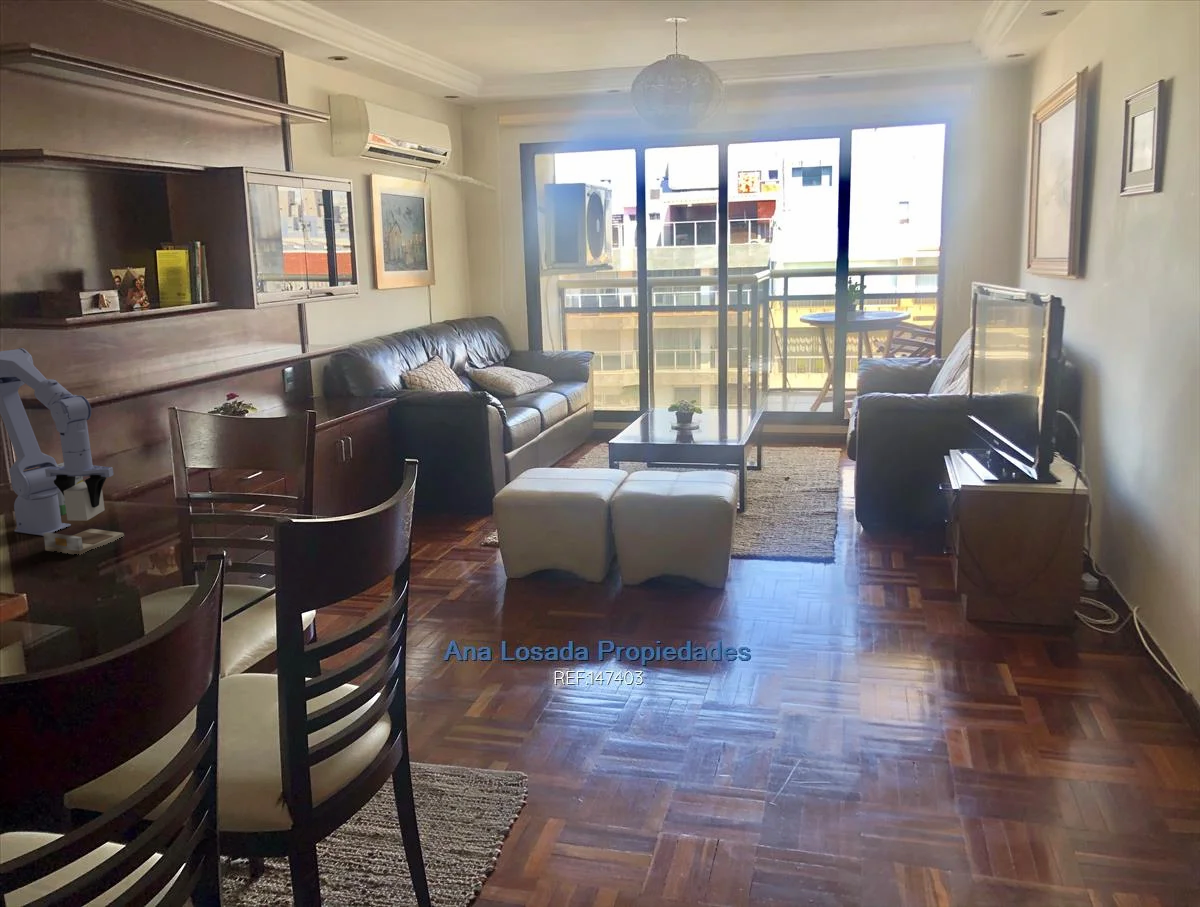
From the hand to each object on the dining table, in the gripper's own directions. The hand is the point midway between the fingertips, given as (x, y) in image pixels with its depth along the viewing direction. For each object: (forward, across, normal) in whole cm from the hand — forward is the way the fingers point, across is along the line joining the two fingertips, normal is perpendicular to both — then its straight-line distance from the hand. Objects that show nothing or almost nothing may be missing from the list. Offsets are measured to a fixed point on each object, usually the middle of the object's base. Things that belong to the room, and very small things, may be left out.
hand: (84, 506), depth 219 cm
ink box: (+9, +18, -24) cm, 32 cm away
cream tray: (+9, 0, +1) cm, 9 cm away
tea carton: (+2, 0, 0) cm, 2 cm away
